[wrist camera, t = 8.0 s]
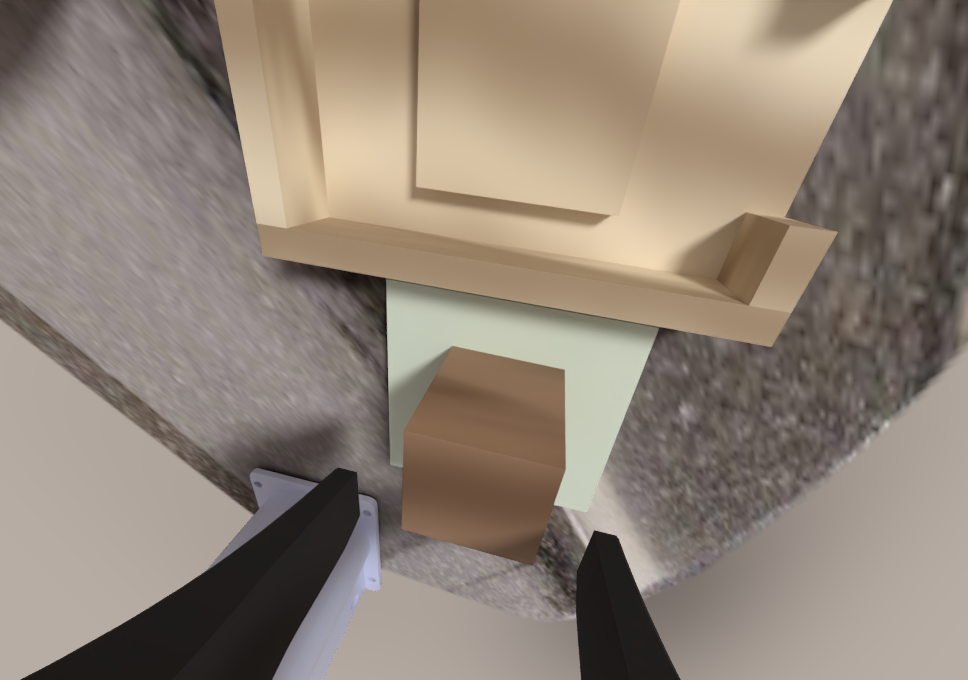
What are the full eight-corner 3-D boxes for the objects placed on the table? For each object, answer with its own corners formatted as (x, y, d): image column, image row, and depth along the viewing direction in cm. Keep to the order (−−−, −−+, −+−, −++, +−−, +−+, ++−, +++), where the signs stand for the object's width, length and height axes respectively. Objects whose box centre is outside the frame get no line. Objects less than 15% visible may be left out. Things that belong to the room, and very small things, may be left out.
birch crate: (726, 305, 12) (771, 346, 9) (319, 237, 14) (263, 256, 11) (979, -225, 7) (1240, -462, 4) (269, -225, 9) (139, -394, 6)
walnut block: (540, 452, 16) (532, 565, 11) (444, 429, 16) (401, 529, 12) (564, 369, 14) (565, 469, 9) (452, 345, 14) (404, 430, 10)
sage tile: (586, 502, 18) (586, 512, 17) (395, 456, 19) (390, 464, 18) (655, 321, 13) (659, 328, 12) (392, 274, 14) (385, 279, 13)
